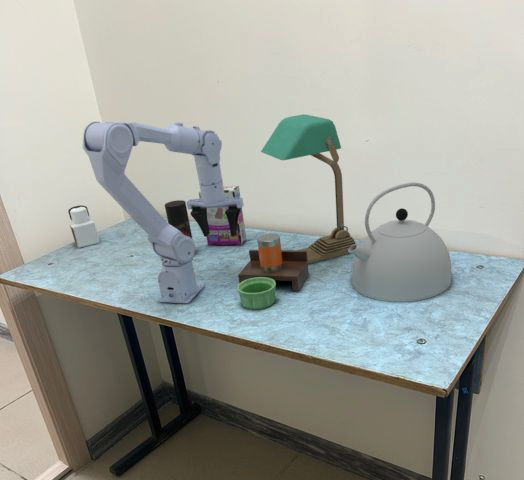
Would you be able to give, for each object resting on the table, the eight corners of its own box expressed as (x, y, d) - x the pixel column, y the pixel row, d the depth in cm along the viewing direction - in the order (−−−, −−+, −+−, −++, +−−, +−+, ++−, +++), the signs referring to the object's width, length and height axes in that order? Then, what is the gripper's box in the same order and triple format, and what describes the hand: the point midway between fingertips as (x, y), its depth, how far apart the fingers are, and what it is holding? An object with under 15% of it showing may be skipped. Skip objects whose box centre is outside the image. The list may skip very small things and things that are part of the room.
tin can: (279, 273, 130) (275, 241, 126) (257, 272, 132) (253, 241, 128) (285, 264, 134) (282, 233, 130) (264, 263, 136) (261, 233, 132)
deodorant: (196, 249, 163) (187, 199, 155) (192, 256, 158) (182, 205, 150) (177, 250, 164) (167, 201, 156) (173, 258, 158) (162, 207, 151)
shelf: (298, 291, 129) (296, 266, 126) (240, 289, 134) (236, 265, 131) (308, 274, 137) (306, 250, 134) (253, 273, 142) (250, 249, 139)
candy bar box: (247, 239, 165) (239, 185, 156) (241, 245, 161) (234, 190, 152) (213, 239, 168) (204, 186, 160) (207, 245, 164) (197, 191, 156)
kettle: (376, 314, 116) (376, 210, 104) (326, 278, 134) (321, 186, 122) (472, 284, 122) (482, 183, 111) (412, 254, 141) (415, 165, 129)
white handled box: (75, 242, 182) (64, 207, 176) (96, 237, 184) (86, 202, 178) (78, 248, 176) (67, 212, 170) (100, 243, 178) (89, 207, 172)
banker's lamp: (365, 255, 144) (362, 113, 126) (293, 274, 138) (280, 129, 120) (336, 238, 157) (330, 108, 139) (270, 255, 151) (255, 121, 133)
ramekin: (240, 313, 123) (237, 295, 121) (239, 296, 131) (236, 279, 129) (279, 307, 123) (277, 290, 121) (275, 291, 131) (273, 274, 129)
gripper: (244, 176, 133) (251, 229, 140) (191, 178, 137) (201, 229, 145) (233, 184, 127) (242, 239, 134) (178, 186, 132) (190, 239, 139)
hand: (220, 235), depth 139 cm, fingers open, 7 cm apart
